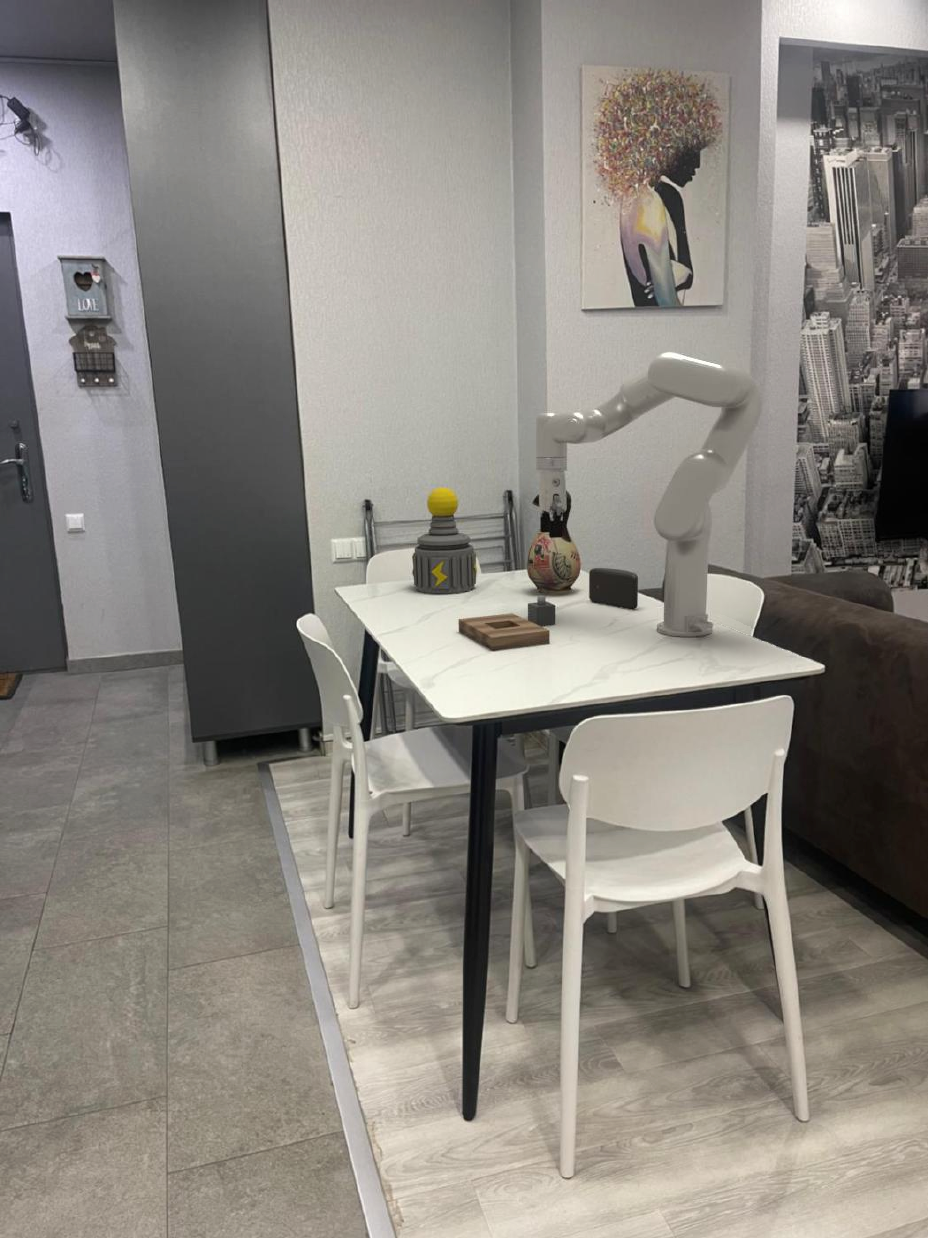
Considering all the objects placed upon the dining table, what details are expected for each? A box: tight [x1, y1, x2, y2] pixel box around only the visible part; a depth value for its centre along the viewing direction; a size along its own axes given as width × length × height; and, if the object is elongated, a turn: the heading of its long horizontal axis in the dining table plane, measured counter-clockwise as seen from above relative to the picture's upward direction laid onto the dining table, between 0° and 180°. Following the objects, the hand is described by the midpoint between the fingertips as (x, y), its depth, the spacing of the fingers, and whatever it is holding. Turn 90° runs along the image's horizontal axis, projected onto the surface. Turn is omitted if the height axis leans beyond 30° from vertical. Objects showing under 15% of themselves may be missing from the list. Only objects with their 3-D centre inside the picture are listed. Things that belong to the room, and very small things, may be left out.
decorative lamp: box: [411, 486, 478, 595], centre depth 262 cm, size 19×19×30 cm
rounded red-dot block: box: [588, 567, 639, 610], centre depth 236 cm, size 16×5×9 cm, turn 40°
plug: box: [527, 594, 556, 627], centre depth 218 cm, size 5×5×7 cm
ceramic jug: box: [526, 490, 582, 596], centre depth 252 cm, size 17×15×30 cm
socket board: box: [458, 612, 551, 652], centre depth 206 cm, size 20×14×3 cm
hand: (551, 534), depth 220 cm, fingers open, 9 cm apart
